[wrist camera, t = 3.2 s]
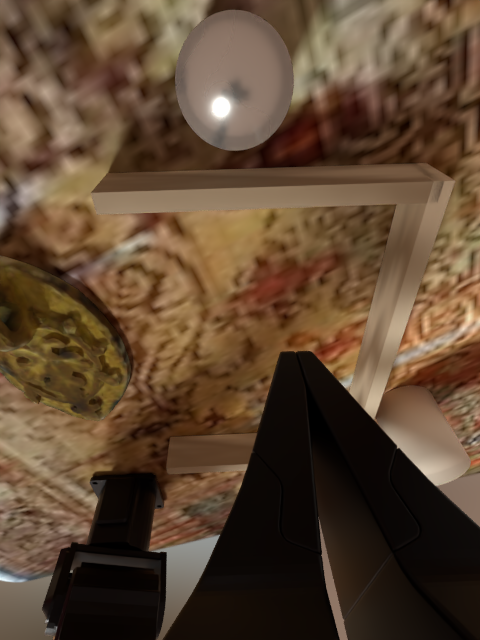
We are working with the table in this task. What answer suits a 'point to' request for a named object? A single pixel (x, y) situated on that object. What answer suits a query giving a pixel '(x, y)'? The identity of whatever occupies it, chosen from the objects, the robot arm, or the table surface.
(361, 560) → the robot arm
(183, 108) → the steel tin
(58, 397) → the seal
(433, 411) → the cream capsule shape
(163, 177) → the frame
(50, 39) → the table surface
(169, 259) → the table surface
